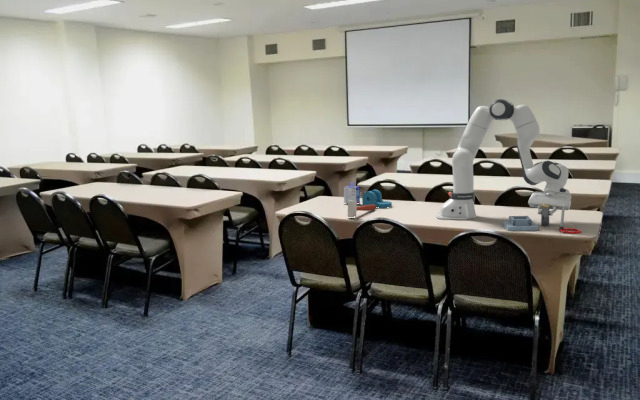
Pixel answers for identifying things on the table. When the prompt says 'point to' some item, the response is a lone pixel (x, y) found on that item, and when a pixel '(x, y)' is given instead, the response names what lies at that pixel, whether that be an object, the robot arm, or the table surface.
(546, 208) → the key rod
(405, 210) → the table surface
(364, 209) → the mallet
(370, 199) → the camera mount
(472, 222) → the table surface
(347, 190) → the ink cartridge box
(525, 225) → the block
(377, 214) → the table surface
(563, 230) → the tow hook
